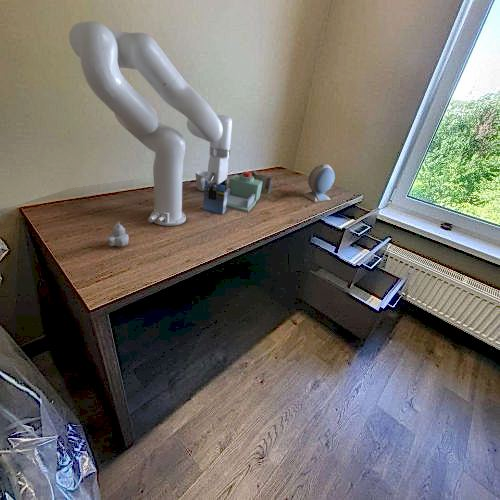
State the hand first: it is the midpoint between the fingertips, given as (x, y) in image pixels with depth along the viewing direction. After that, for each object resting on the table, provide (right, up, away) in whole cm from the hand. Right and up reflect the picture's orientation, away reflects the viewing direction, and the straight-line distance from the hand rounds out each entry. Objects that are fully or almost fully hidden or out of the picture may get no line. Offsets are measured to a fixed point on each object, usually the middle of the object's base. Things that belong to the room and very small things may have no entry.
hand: (217, 195), depth 112 cm
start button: (+12, +12, +17) cm, 24 cm away
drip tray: (+7, -1, +13) cm, 15 cm away
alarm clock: (+49, +6, +37) cm, 62 cm away
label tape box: (-2, -6, +3) cm, 7 cm away
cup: (-9, +6, +21) cm, 24 cm away
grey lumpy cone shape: (-26, -21, -29) cm, 44 cm away
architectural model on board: (+18, +9, +33) cm, 39 cm away
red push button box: (+10, +4, +22) cm, 25 cm away
